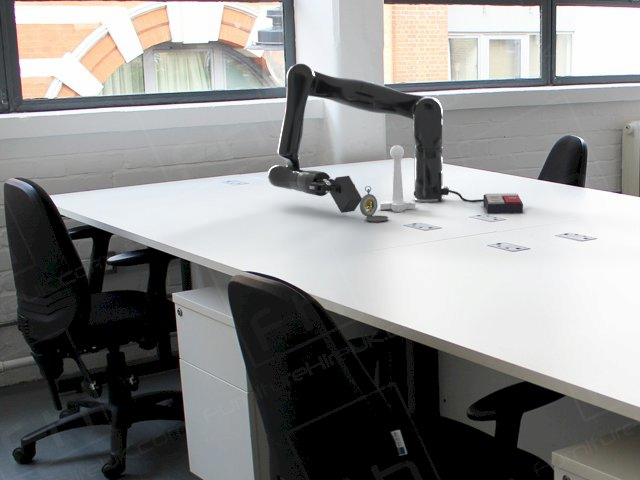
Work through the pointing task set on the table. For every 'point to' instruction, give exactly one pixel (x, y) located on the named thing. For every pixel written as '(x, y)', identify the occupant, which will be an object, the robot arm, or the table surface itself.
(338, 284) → the table surface
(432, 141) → the robot arm
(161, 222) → the table surface
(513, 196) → the control box
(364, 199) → the pocket watch
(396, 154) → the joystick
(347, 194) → the dark grey rectangular block
